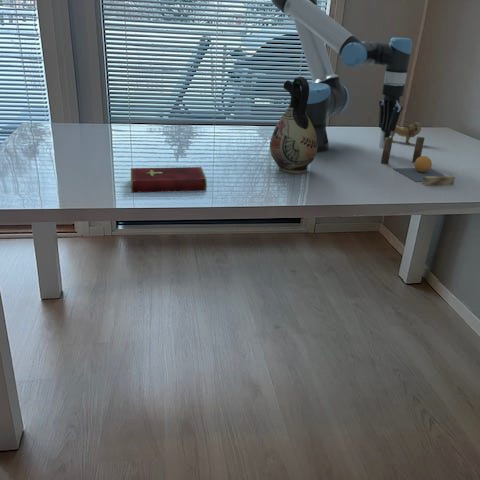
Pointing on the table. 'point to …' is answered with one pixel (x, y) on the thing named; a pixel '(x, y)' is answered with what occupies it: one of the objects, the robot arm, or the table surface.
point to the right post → (418, 148)
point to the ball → (423, 164)
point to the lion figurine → (407, 131)
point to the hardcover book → (168, 179)
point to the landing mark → (417, 173)
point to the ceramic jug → (294, 132)
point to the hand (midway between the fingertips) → (383, 148)
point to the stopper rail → (438, 180)
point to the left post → (386, 150)
